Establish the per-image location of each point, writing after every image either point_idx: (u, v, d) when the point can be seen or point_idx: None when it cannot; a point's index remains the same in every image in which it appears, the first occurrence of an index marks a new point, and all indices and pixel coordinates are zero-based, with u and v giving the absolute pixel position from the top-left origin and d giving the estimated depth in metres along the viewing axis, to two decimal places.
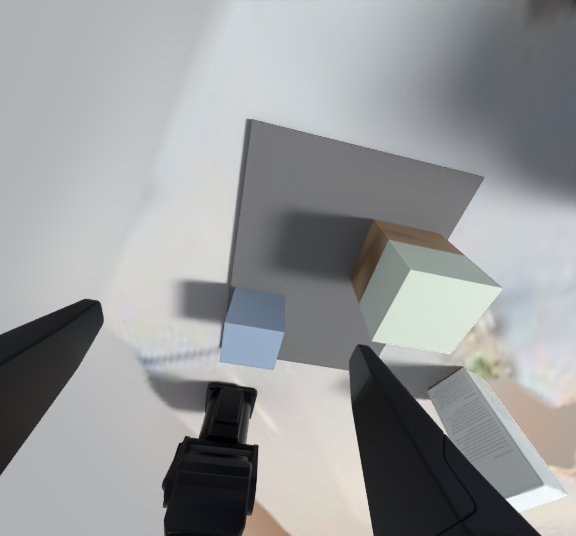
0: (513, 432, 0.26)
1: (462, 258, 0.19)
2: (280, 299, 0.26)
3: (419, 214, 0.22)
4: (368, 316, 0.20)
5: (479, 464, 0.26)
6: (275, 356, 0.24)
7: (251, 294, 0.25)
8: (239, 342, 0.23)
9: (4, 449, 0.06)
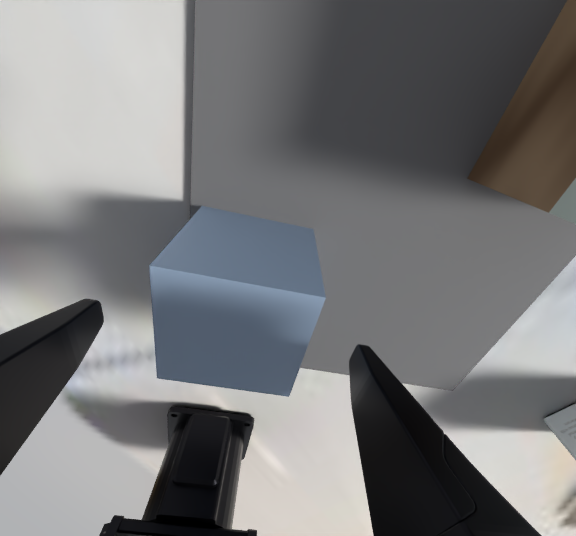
0: None
1: None
2: (303, 233, 0.11)
3: None
4: None
5: None
6: (295, 365, 0.09)
7: (237, 220, 0.11)
8: (200, 328, 0.08)
9: (4, 449, 0.06)
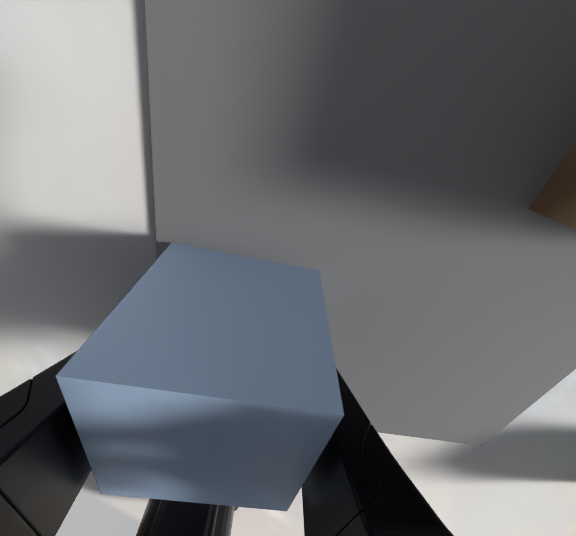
0: None
1: None
2: (306, 280, 0.08)
3: None
4: None
5: None
6: (296, 483, 0.06)
7: (217, 264, 0.08)
8: (153, 447, 0.06)
9: None
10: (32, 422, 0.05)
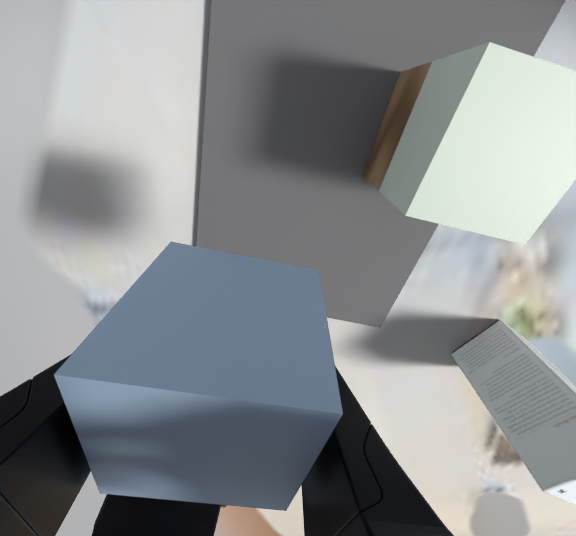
0: None
1: None
2: (306, 279, 0.08)
3: None
4: (397, 189, 0.13)
5: (532, 436, 0.20)
6: (295, 482, 0.06)
7: (216, 263, 0.08)
8: (152, 446, 0.06)
9: None
10: (32, 423, 0.05)
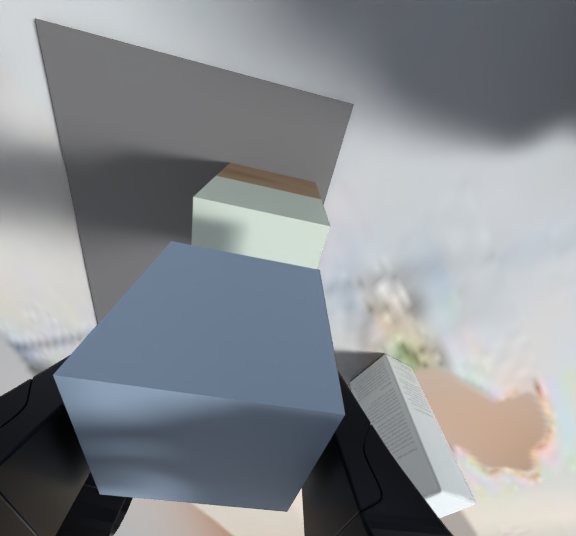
0: (423, 428, 0.22)
1: (312, 200, 0.15)
2: (307, 279, 0.08)
3: (284, 156, 0.18)
4: None
5: None
6: (297, 483, 0.06)
7: (217, 262, 0.08)
8: (152, 447, 0.06)
9: None
10: (32, 423, 0.05)
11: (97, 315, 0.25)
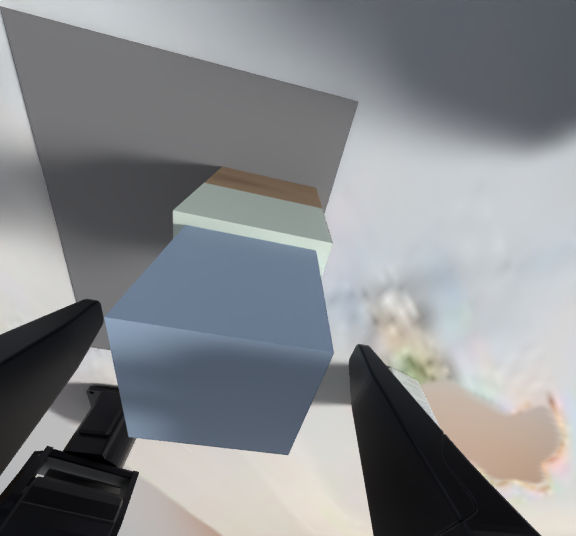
0: None
1: (312, 209, 0.13)
2: (304, 257, 0.10)
3: (281, 159, 0.16)
4: None
5: None
6: (296, 424, 0.08)
7: (226, 242, 0.09)
8: (176, 386, 0.07)
9: (4, 449, 0.06)
10: None
11: None
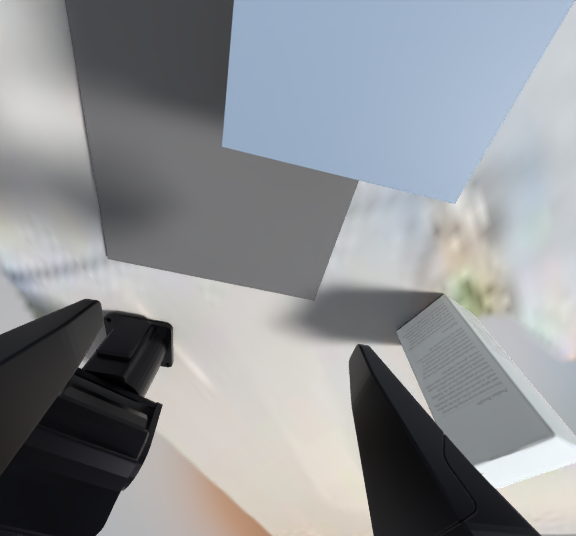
0: (508, 369, 0.18)
1: None
2: None
3: None
4: None
5: (455, 415, 0.18)
6: (506, 99, 0.05)
7: None
8: None
9: (4, 449, 0.06)
10: None
11: (105, 232, 0.21)
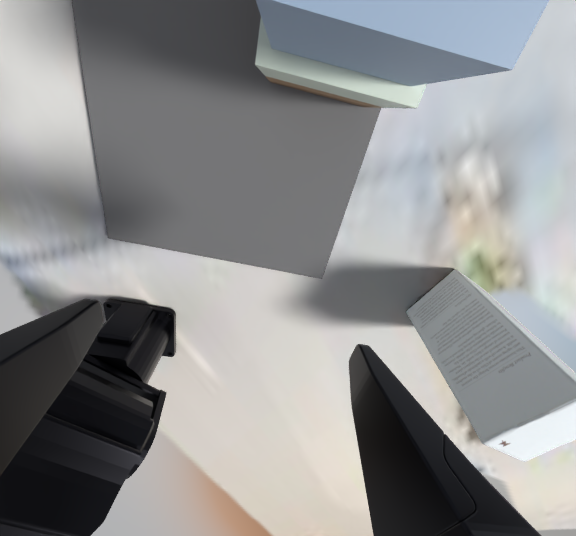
0: (529, 335, 0.17)
1: None
2: None
3: None
4: None
5: (476, 386, 0.17)
6: None
7: None
8: None
9: (4, 449, 0.06)
10: None
11: (105, 208, 0.20)
